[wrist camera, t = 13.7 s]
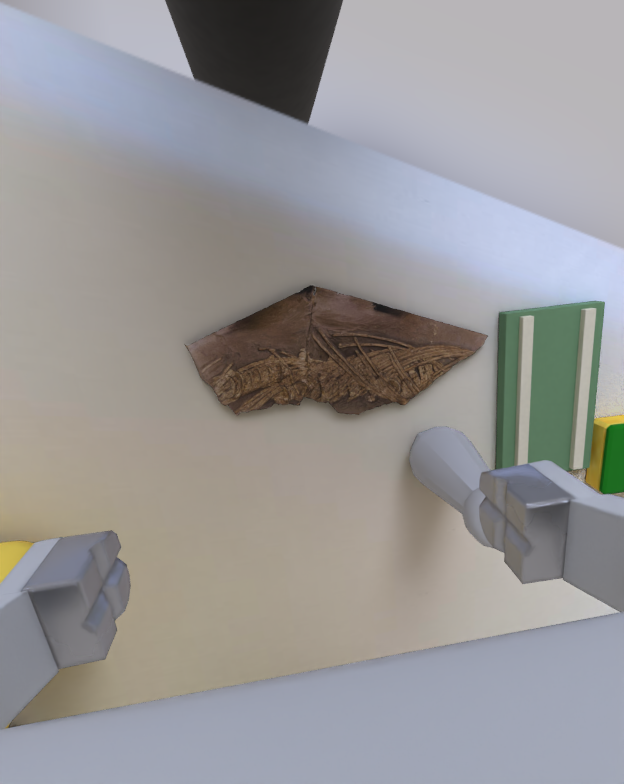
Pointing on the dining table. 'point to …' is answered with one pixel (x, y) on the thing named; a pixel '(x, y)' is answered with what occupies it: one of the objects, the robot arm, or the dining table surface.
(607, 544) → the robot arm
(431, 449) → the salt shaker
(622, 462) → the dish sponge
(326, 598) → the dining table surface
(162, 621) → the dining table surface
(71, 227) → the dining table surface
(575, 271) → the dining table surface
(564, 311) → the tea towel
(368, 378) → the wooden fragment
